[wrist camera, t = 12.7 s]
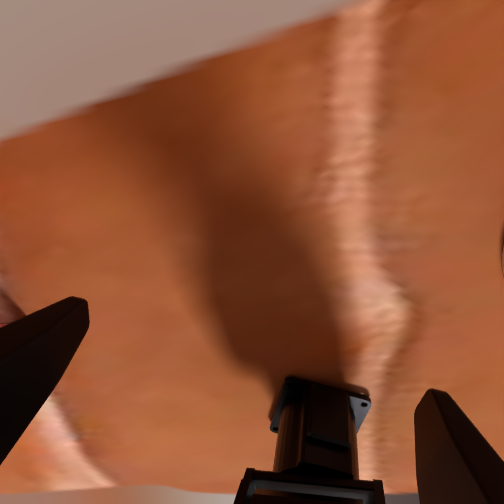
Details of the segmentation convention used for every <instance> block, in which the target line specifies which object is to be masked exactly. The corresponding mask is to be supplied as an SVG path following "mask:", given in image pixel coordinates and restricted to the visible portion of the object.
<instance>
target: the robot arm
mask: <svg viewBox="0 0 504 504" xmlns="http://www.w3.org/2000/svg"><path fill="white" fill-rule="evenodd" d="M89 323H90V321H89V309H88V302H87V301H86V300H85V299H82V298H78V297H74V296H71V297H68V298H65V299H63V300H61V301H59V302H56V303H54V304H52V305H50V306H47V307H45V308H43V309H41V310H38V311H36V312H34V313H32V314H29V315H27V316H25V317H22V318H20V319H18V320H16V321H13V322H11V323H9V324H7V325H4V326H2V327H0V465H1V464H2V462H3V461H4V459H5V458H6V457H7V455H8V454H9V452H10V451H11V450H12V448H13V447H14V445H15V444H16V442H17V441H18V440H19V438H20V437H21V435H22V434H23V432H24V431H25V430H26V428H27V427H28V425H29V424H30V422H31V421H32V420H33V418H34V417H35V415H36V414H37V412H38V411H39V410H40V408H41V407H42V405H43V404H44V403H45V401H46V400H47V398H48V397H49V395H50V394H51V393H52V391H53V390H54V388H55V387H56V385H57V384H58V382H59V381H60V379H61V377H62V376H63V374H64V372H65V370H66V369H67V367H68V365H69V363H70V361H71V360H72V358H73V356H74V354H75V352H76V351H77V349H78V347H79V345H80V343H81V342H82V340H83V338H84V336H85V334H86V333H87V331H88V328H89ZM364 402H365V403H364ZM370 407H371V399H370V398H369V397H367V396H365V395H361V394H357V393H353V392H349V391H345V390H342V389H338V388H334V387H330V386H326V385H322V384H318V383H315V382H311V381H307V380H303V379H299V378H295V377H291V376H289V377H286V378H285V379H284V382H283V385H282V389H281V392H280V395H279V398H278V401H277V405H276V408H275V411H274V414H273V417H272V420H271V424H270V430H271V431H272V432H274V433H278V437H277V444H276V451H275V459H274V466H273V472H272V471H261V470H255V468H247V469H246V472H245V475H244V478H243V479H242V480H241V483H240V486H239V489H238V492H237V495H236V498H235V501H234V504H385V497H384V490H383V482H382V480H375V479H373V481H368V480H359V468H358V450H357V432H358V430H359V428H360V426H361V424H362V423H363V421H364V419H365V417H366V415H367V413H368V411H369V409H370ZM414 426H415V455H416V477H417V486H418V493H419V500H420V504H504V461H503V460H502V459H501V458H500V456H499V455H498V454H497V453H496V451H495V450H494V449H493V448H492V447H491V445H490V444H489V443H488V442H487V440H486V439H485V438H484V437H483V436H482V434H481V433H480V432H479V431H478V429H477V428H476V427H475V426H474V424H473V423H472V422H471V421H470V420H469V418H468V417H467V416H466V415H465V413H464V412H463V411H462V410H461V408H460V407H459V406H458V405H457V404H456V402H455V401H454V400H453V399H452V397H451V396H450V395H449V394H448V393H447V392H445V391H441V390H437V389H433V388H430V389H428V390H427V391H426V393H425V394H424V396H423V398H422V399H421V401H420V402H419V404H418V405H417V407H416V409H415V413H414Z"/></svg>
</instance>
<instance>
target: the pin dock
mask: <svg viewBox="0 0 504 504" xmlns="http://www.w3.org/2000/svg"><path fill="white" fill-rule="evenodd" d="M502 269H503V275H504V247H503V252H502Z"/></svg>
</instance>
